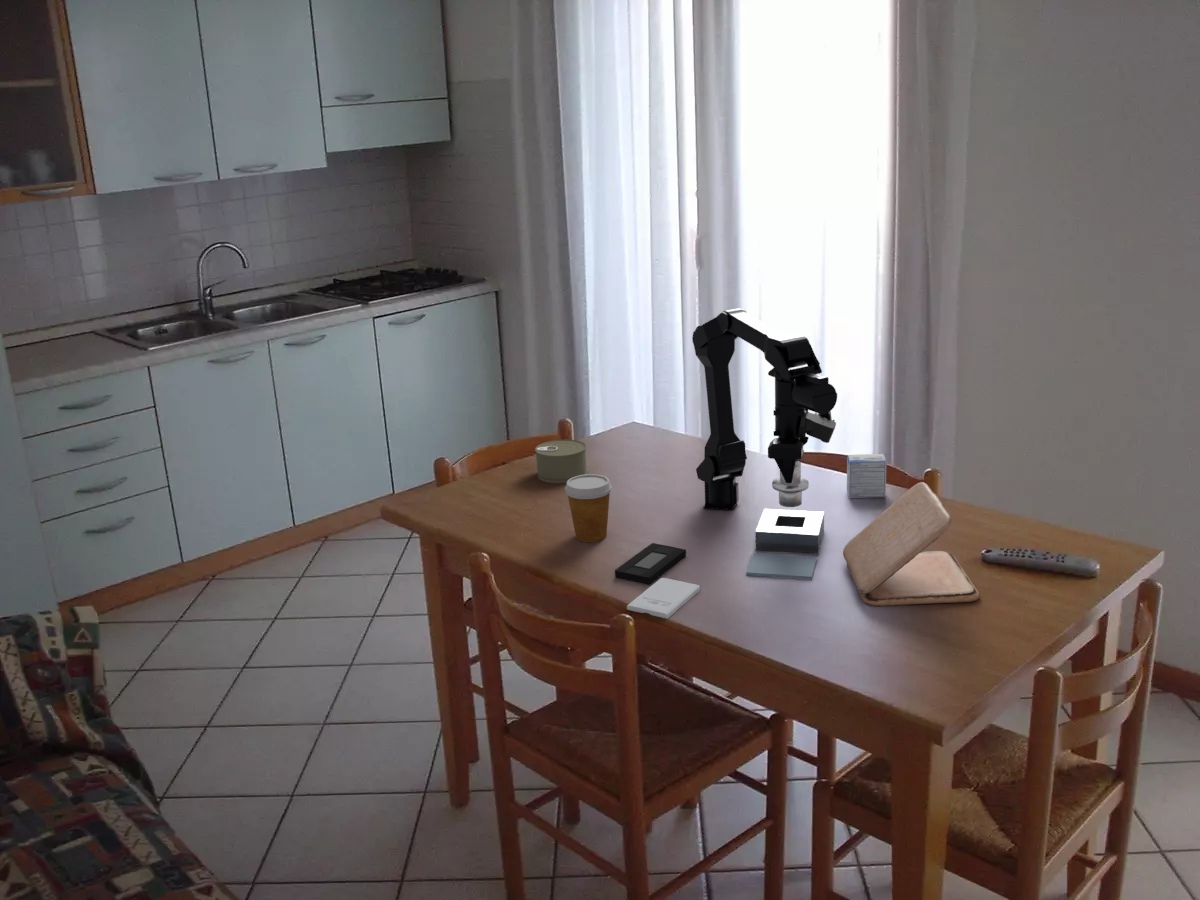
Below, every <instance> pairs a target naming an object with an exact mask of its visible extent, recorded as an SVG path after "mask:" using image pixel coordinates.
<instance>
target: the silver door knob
mask: <svg viewBox="0 0 1200 900" xmlns="http://www.w3.org/2000/svg"><path fill="white" fill-rule="evenodd" d="M801 469H802V463H801V461H800V460H798V461H797V460H796V464H795V469H794V474H793V479H792V483H786V482H785V480H784V477H783V475H782V473H781V471H780V470H779V477H776V478H775V479H773V480H772V482H771V483H772V484H771V486H772V489H773V490H774V491H777V492H778V505H780V506H782V507H785V508H796V507H799V506H801V505H803V504H802V503H803V499H802V498H803V497H802V496H803V491H807V489H809V486H810V484H809V480H807V479H806V478H804V477H802V473H801V472H802V470H801Z"/></svg>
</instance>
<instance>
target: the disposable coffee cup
mask: <svg viewBox="0 0 1200 900" xmlns="http://www.w3.org/2000/svg"><path fill="white" fill-rule="evenodd" d="M565 484H566V485H565V486H564V491H565V493H566V495H567V499H568V503H569V508H570V513H571V518H572V524H573V529H574V534H575V539H576V540H577V541H579V542H583V543H596V542H600V541H602V540H604V539H605V538H607V535H608V534H607V533H608V521H609V520H608V519H609V511H610V510H609V509H610V507H609V506H610V495H611V494H610V492H611V490H612V488H613V486H612V483H611V482H610V479H609V478H608V477H607V476H606V475H602V474H594V473H587V474H586V475H579V476H575V477H572V478H570V479H569V480H568V481H567V483H565Z"/></svg>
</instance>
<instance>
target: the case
mask: <svg viewBox="0 0 1200 900" xmlns="http://www.w3.org/2000/svg"><path fill="white" fill-rule="evenodd" d="M952 522H953V519H952V516H951V514H950V512H948V510H947V509H946V508H945V504H944V502H943V501H942V500H941V498H940V497H939V496H938V495H937V494H936V493H935V492H934V491H933V490H932V488H931V487H930V486H929V484H928V483H925V482H924V481H920V482H918V483H916V484H914V485H913V486H911V487H910V488H909V489H908V490H907V491H906V492H904V493H903V494H902V495H901V496H900V497H899V498H898V499H896V501H894V502H893V503H892V504H890V506H888V507H887V508H886V509H885V510H884V511H882V513H880V514H879V515H878V516H877V517H876V518H875V519H874V520H872V521H871V522H870V523H869V524H867V526H865V528H863V529H862V530H861V531H860V532H859V533H857V534H856V535H855V536H854V537H853V538H852V539H850V540H849V541H848V542H847V544H845V546H844V548H843V551H842V555H843V558H844V560H845V562H846V565H847V568H848V570H849V572H850V574H851V576H852V578H853V581H854V584H855V585H856V589H857V590H858V592H859V596H860V598H861V600H862V601H863V602H864V603H865V604H866V605H868V606H871V607H872V606H873V607H886V606H887V607H889V606H902V605H904V606H906V605H907V606H908V605H925V604H948V603H953V604H954V603H971V602H976V601H977V600H978V599H979V598H980V593H979V590H978V589H977V588H976V586H975V585H974V583H973V582H972V580H971V579H970V577H969V576H968V575H967V573H966V572H965V570H964V568H963V567H962V565H961V564H960V563H959V561H958V559H957V557H956V556H955V555H953V554H951V553H950V552H948V551H945V550H930V551H929V550H928V551H925V549H926V548H928V547H930V545H931V544H933V543H935V541H937V539H939V538H940V536H943V535H944V533H945V532H947V530H949V528H950V526H951V524H952Z"/></svg>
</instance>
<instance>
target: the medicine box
mask: <svg viewBox="0 0 1200 900" xmlns="http://www.w3.org/2000/svg"><path fill="white" fill-rule="evenodd" d="M846 461H847V462H846V492H847V496H848V498H849V499H868V498H872V499H874V498H886V495H887V494H886V492H887V462H888V461H887V459H886V456H885V455H884V454H883V453H879V454H878V453H877V454H876V453H867V454H866V453H865V454H863V453H862V454H848V455H847V456H846Z"/></svg>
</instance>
